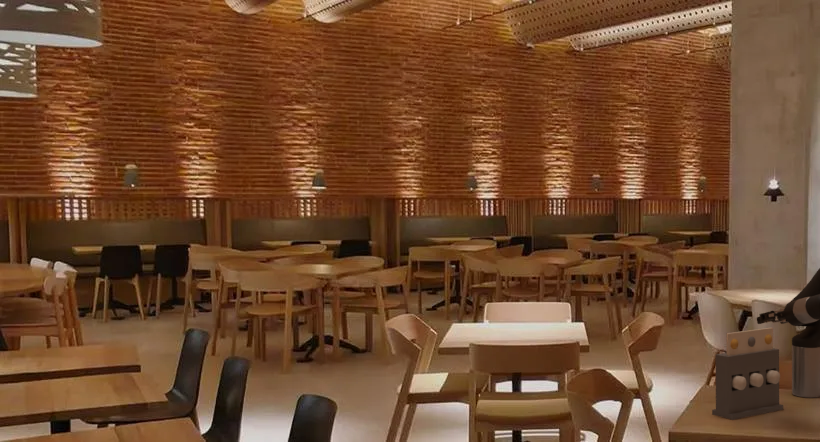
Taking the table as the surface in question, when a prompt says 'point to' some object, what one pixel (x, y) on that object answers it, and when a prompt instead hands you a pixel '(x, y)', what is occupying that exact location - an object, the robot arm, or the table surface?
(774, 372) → the button
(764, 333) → the card
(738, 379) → the button
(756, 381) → the middle button
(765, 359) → the button panel
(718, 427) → the table surface
